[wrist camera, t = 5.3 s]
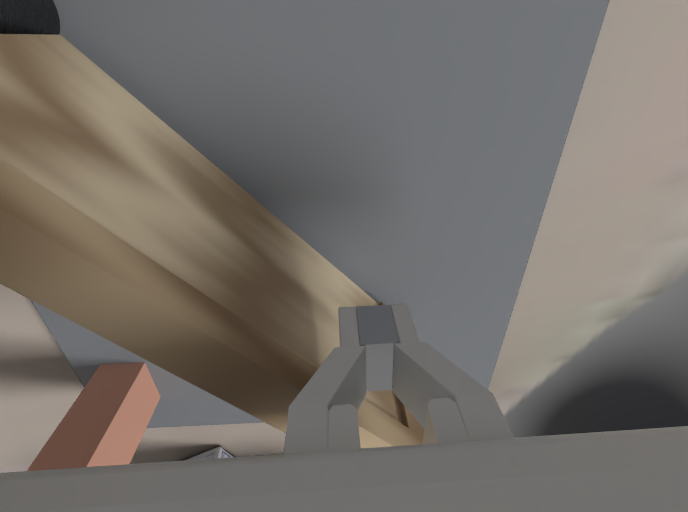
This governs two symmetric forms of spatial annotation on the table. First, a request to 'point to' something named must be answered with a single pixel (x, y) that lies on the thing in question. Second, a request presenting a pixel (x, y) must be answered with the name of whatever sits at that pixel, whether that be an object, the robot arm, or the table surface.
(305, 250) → the gate
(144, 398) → the post
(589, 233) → the table surface
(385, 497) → the robot arm
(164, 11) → the mat
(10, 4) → the hinge post
